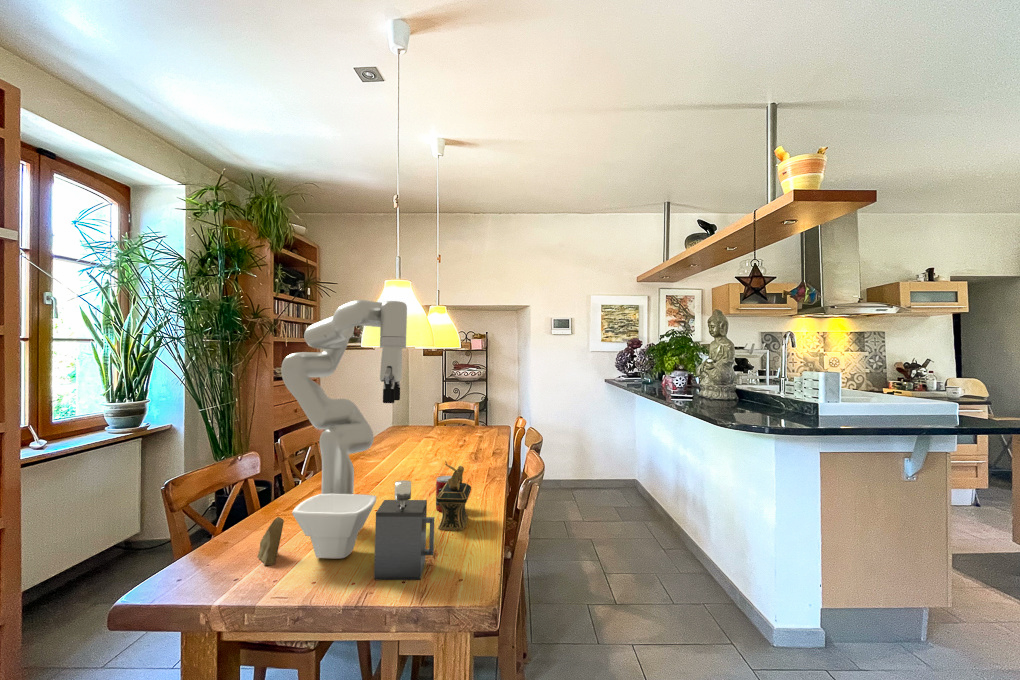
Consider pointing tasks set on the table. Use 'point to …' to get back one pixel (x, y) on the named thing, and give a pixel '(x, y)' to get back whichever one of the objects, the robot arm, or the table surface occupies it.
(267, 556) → the rock
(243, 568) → the table surface
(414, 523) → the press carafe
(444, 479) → the canned food
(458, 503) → the decorative box
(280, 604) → the table surface
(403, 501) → the plunger
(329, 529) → the bowl
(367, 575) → the table surface
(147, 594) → the table surface
